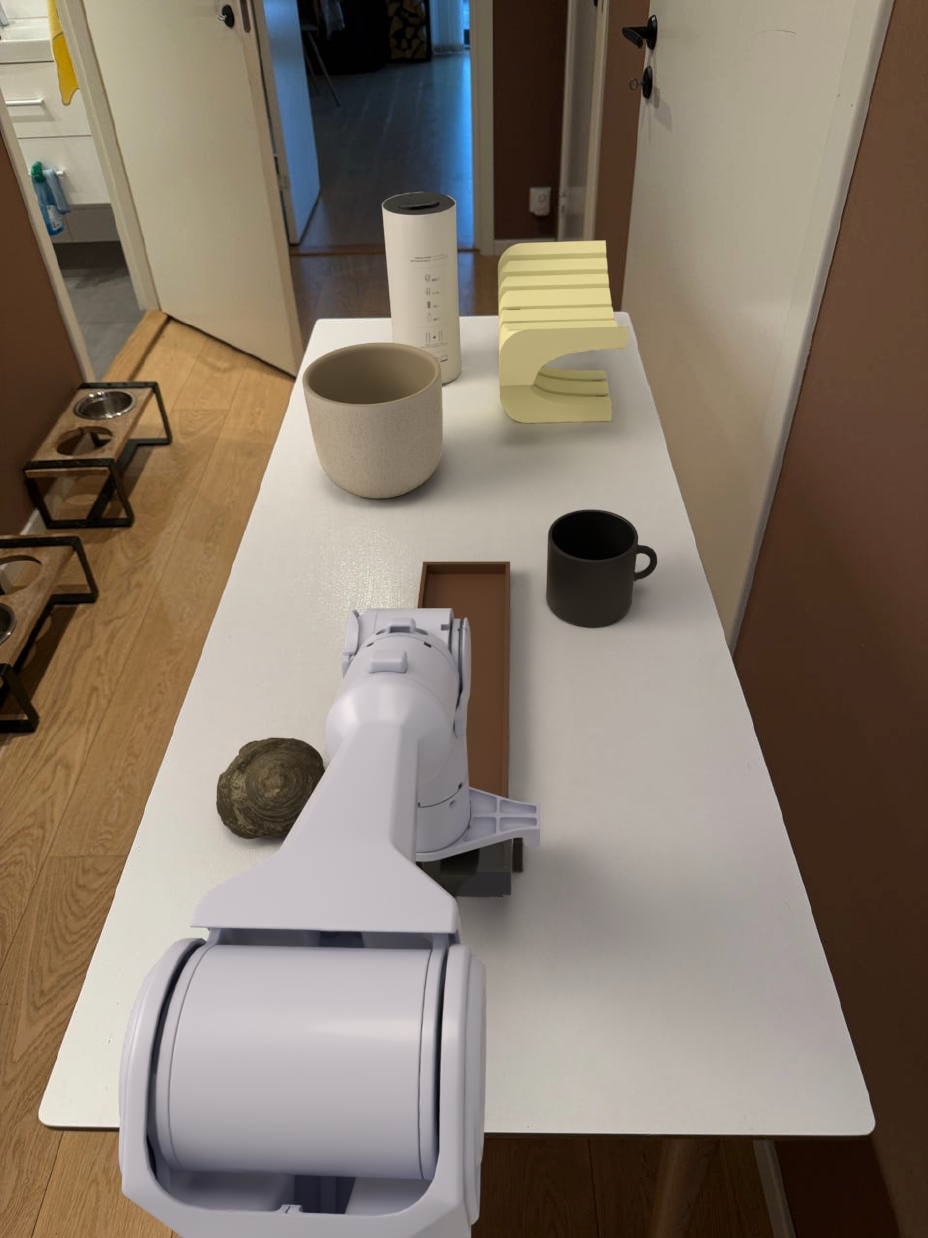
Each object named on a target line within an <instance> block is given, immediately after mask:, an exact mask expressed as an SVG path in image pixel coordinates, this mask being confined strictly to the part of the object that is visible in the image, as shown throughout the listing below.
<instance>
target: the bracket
mask: <svg viewBox="0 0 928 1238" xmlns="http://www.w3.org/2000/svg"><path fill="white" fill-rule="evenodd" d="M523 858H524V844H523V842H522V838H512V871H513V873H515V872H516V873H522V872H523V871H524V859H523Z"/></svg>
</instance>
